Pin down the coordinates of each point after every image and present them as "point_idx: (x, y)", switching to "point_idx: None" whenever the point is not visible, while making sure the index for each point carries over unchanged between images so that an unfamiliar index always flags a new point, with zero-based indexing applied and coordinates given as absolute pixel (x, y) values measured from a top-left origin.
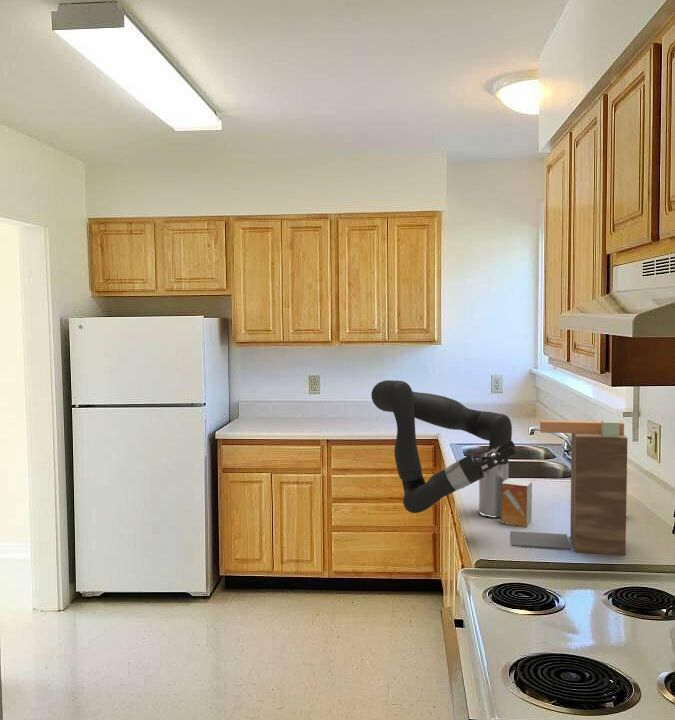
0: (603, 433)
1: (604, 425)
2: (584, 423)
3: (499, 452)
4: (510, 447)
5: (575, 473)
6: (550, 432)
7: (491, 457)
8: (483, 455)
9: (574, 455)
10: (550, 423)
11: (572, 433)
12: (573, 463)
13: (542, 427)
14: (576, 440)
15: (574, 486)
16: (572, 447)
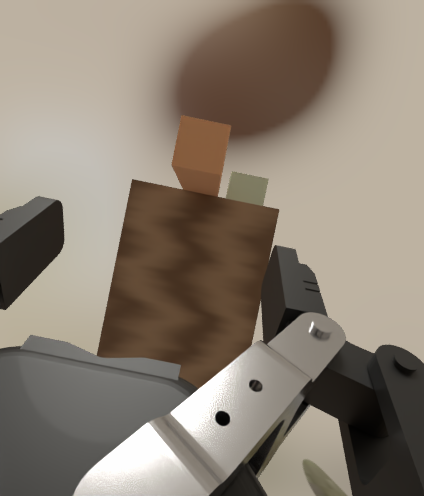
0: (262, 205)
1: (266, 186)
2: (222, 171)
3: (307, 315)
4: (294, 253)
5: (240, 323)
6: (219, 182)
7: (287, 418)
8: (113, 479)
9: (216, 267)
10: (227, 144)
11: (161, 196)
12: (183, 293)
13: (225, 153)
14: (276, 220)
15: (206, 365)
16: (157, 241)
